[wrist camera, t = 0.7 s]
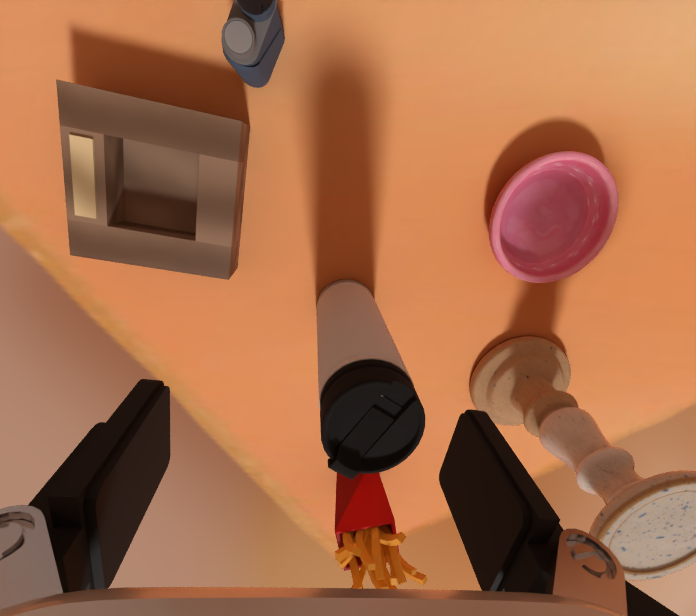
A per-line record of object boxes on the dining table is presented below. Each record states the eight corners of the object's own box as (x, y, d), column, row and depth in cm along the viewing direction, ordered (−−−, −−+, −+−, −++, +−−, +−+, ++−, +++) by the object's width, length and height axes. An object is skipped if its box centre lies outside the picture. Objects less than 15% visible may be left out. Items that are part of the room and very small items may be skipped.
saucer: (479, 283, 39) (492, 292, 36) (479, 162, 34) (495, 161, 31) (588, 265, 39) (610, 273, 37) (603, 143, 35) (629, 141, 32)
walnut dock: (88, 90, 29) (54, 78, 25) (250, 126, 31) (241, 120, 27) (96, 245, 34) (68, 255, 30) (237, 268, 36) (228, 280, 32)
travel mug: (302, 315, 38) (293, 453, 20) (340, 267, 37) (367, 369, 18) (348, 344, 40) (379, 497, 22) (385, 300, 38) (453, 424, 20)
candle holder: (567, 403, 46) (739, 564, 28) (475, 430, 46) (585, 607, 28) (562, 321, 42) (765, 447, 23) (461, 352, 42) (580, 501, 23)
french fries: (336, 496, 48) (346, 628, 35) (326, 450, 45) (332, 574, 31) (400, 484, 49) (434, 610, 35) (394, 437, 46) (429, 555, 32)
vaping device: (290, 31, 29) (276, -54, 18) (264, 95, 30) (237, 54, 19) (260, 11, 28) (227, -90, 17) (235, 78, 30) (190, 26, 19)
